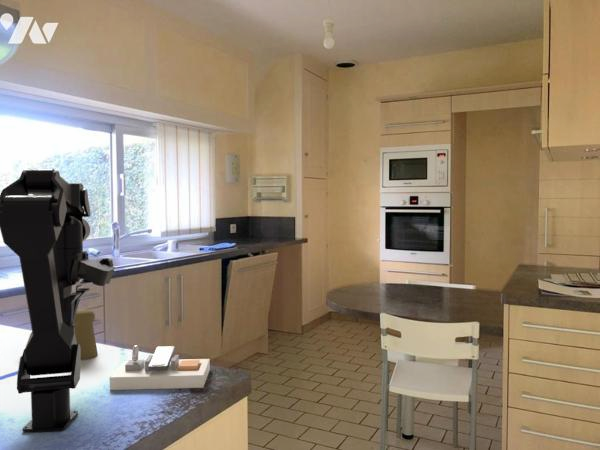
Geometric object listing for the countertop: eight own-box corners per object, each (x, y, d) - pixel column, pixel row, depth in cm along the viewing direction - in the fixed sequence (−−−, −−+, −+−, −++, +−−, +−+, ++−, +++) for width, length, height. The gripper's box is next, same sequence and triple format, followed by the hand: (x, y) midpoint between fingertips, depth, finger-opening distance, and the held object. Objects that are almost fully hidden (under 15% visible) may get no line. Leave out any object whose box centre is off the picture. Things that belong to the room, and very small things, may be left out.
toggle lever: (137, 361, 101) (138, 345, 102) (131, 361, 101) (132, 345, 102) (138, 361, 102) (139, 345, 103) (132, 361, 102) (133, 345, 103)
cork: (102, 352, 120) (101, 307, 120) (89, 360, 114) (88, 313, 114) (78, 351, 121) (77, 307, 120) (64, 359, 115) (63, 312, 114)
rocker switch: (167, 370, 98) (166, 365, 98) (148, 370, 98) (148, 365, 97) (174, 350, 106) (174, 345, 105) (157, 350, 105) (157, 345, 105)
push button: (197, 380, 100) (196, 365, 100) (179, 380, 100) (178, 366, 100) (199, 374, 104) (199, 360, 104) (182, 374, 104) (182, 360, 104)
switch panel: (203, 387, 97) (203, 365, 97) (109, 390, 96) (109, 367, 96) (209, 370, 107) (209, 349, 107) (125, 372, 106) (124, 351, 106)
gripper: (89, 252, 87) (91, 339, 88) (124, 243, 106) (125, 315, 107) (25, 252, 87) (28, 340, 88) (71, 243, 106) (73, 315, 106)
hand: (69, 326), depth 97 cm, fingers closed
